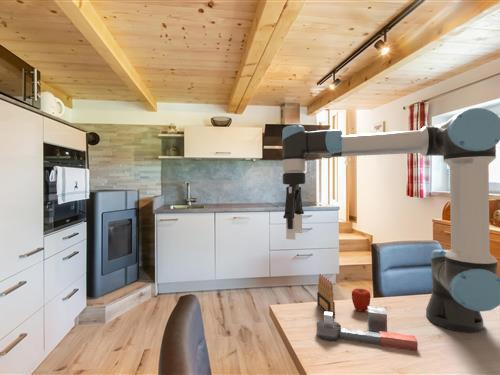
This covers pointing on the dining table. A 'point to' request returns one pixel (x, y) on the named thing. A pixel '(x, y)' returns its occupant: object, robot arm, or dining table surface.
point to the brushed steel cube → (377, 319)
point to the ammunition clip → (325, 295)
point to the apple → (361, 299)
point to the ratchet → (363, 335)
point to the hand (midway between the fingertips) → (294, 235)
